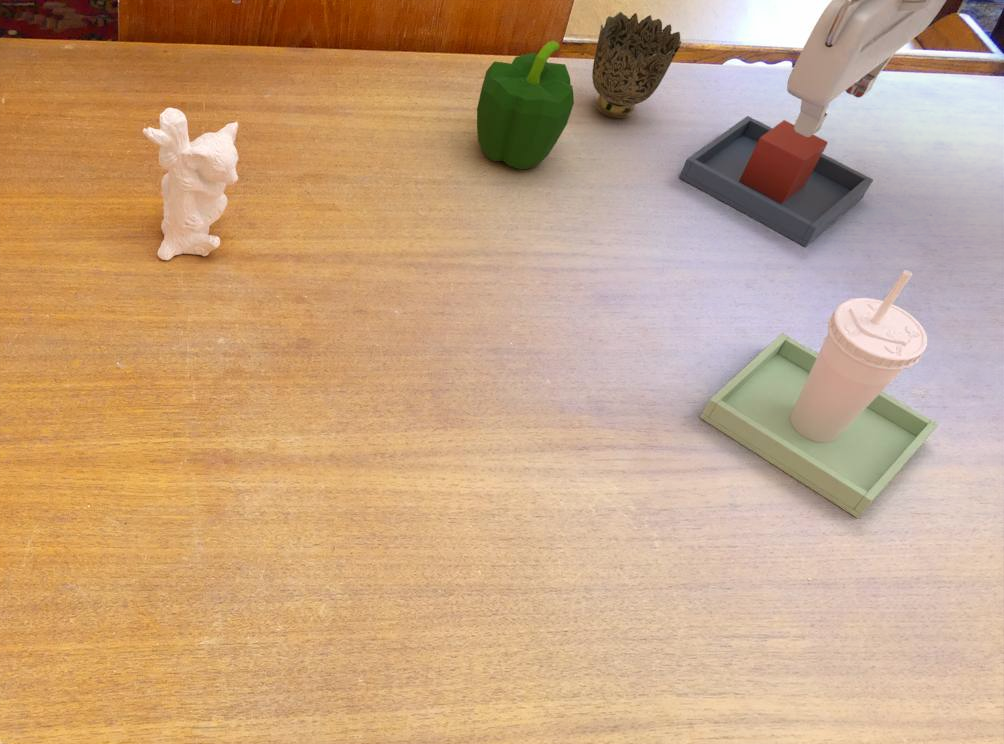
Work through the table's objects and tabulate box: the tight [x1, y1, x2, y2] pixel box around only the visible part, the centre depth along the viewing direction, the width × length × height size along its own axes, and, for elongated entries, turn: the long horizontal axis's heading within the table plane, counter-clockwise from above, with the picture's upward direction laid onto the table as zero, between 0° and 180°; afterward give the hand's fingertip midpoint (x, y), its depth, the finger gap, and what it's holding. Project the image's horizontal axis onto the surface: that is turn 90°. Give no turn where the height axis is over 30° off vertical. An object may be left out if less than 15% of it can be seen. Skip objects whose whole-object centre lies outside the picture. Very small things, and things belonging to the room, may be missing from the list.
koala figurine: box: [142, 107, 240, 261], centre depth 88 cm, size 8×7×12 cm
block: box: [739, 119, 829, 204], centre depth 101 cm, size 4×4×4 cm
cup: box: [591, 11, 682, 119], centre depth 106 cm, size 8×7×8 cm
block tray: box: [678, 115, 874, 248], centre depth 103 cm, size 13×11×2 cm
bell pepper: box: [476, 40, 575, 170], centre depth 100 cm, size 8×8×10 cm
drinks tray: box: [699, 332, 939, 519], centre depth 84 cm, size 13×11×2 cm
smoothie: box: [790, 269, 928, 443], centre depth 79 cm, size 6×6×14 cm
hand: (830, 111), depth 98 cm, fingers open, 8 cm apart
